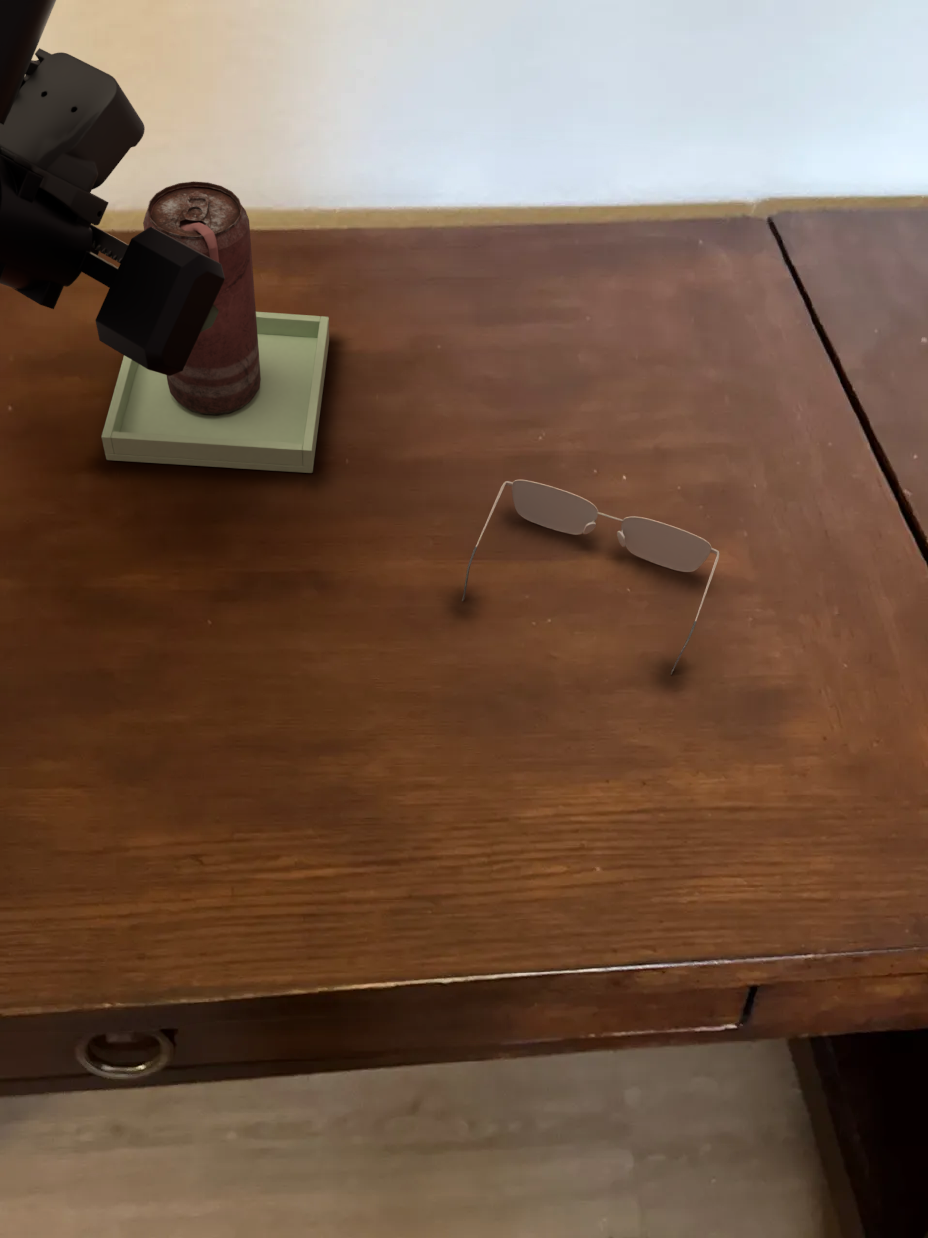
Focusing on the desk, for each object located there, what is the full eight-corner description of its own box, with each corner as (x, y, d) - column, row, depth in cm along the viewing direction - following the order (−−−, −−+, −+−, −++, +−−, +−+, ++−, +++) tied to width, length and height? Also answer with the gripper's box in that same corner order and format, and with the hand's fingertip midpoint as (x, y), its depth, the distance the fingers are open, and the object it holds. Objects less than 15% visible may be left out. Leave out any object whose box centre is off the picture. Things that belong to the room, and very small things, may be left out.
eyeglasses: (710, 580, 76) (724, 541, 72) (675, 683, 71) (689, 647, 68) (500, 510, 78) (505, 469, 74) (455, 606, 74) (457, 568, 70)
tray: (106, 460, 78) (101, 436, 76) (142, 326, 86) (138, 302, 84) (312, 473, 79) (311, 450, 77) (329, 339, 87) (329, 316, 85)
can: (197, 433, 79) (173, 252, 68) (153, 376, 82) (123, 194, 71) (279, 401, 81) (268, 221, 70) (233, 346, 84) (216, 165, 73)
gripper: (175, 110, 51) (341, 218, 66) (-118, -38, 57) (94, 92, 72) (70, 349, 54) (253, 403, 68) (-203, 184, 59) (20, 266, 74)
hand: (154, 283), depth 70 cm, fingers open, 9 cm apart
